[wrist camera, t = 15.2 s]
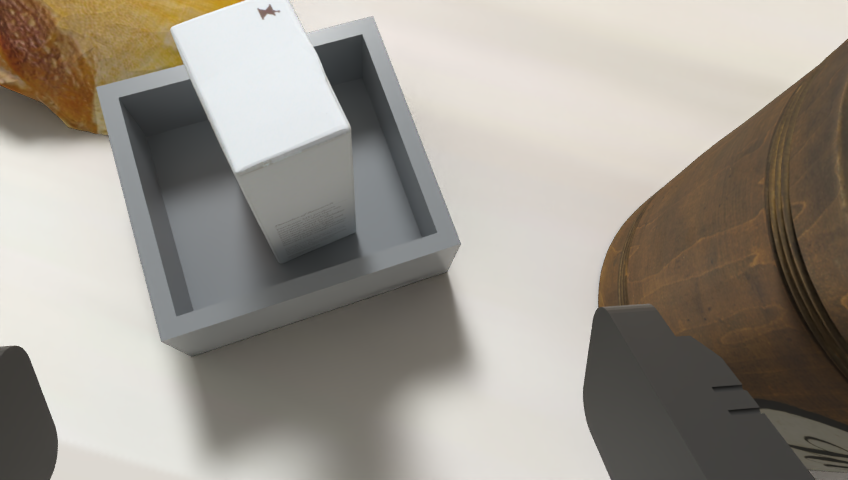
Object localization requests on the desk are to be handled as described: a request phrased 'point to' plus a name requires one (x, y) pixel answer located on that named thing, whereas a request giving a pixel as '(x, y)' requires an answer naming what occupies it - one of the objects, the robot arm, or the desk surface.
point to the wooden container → (760, 260)
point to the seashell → (88, 48)
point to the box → (234, 220)
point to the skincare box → (274, 121)
